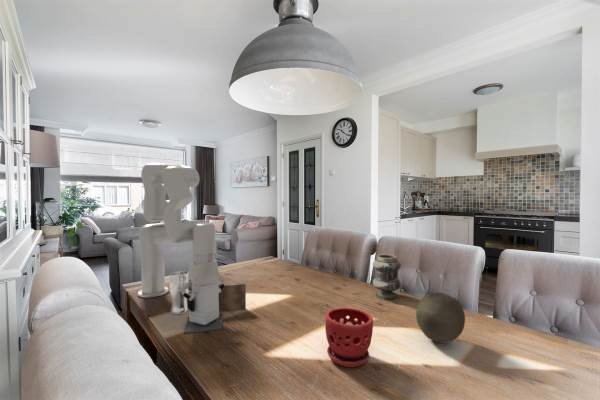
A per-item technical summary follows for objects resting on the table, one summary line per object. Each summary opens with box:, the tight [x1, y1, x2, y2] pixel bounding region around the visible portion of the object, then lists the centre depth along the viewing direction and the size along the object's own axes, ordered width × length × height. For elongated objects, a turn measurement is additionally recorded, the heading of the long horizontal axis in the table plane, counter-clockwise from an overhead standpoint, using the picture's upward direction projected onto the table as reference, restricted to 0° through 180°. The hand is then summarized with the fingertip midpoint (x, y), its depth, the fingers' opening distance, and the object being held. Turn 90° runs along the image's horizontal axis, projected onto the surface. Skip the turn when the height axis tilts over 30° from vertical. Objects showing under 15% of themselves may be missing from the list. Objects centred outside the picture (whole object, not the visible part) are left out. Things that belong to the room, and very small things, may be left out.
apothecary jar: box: [372, 254, 402, 301], centre depth 131 cm, size 12×12×18 cm
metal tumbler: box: [168, 270, 189, 316], centre depth 113 cm, size 7×7×15 cm
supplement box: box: [188, 282, 220, 325], centre depth 102 cm, size 7×7×13 cm
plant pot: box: [324, 307, 374, 368], centre depth 82 cm, size 13×13×12 cm
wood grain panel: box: [219, 282, 247, 313], centre depth 113 cm, size 18×1×10 cm, turn 105°
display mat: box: [183, 312, 223, 335], centre depth 103 cm, size 12×12×1 cm
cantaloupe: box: [415, 292, 466, 344], centre depth 90 cm, size 14×14×15 cm
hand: (204, 306), depth 103 cm, fingers closed on supplement box, 9 cm apart
